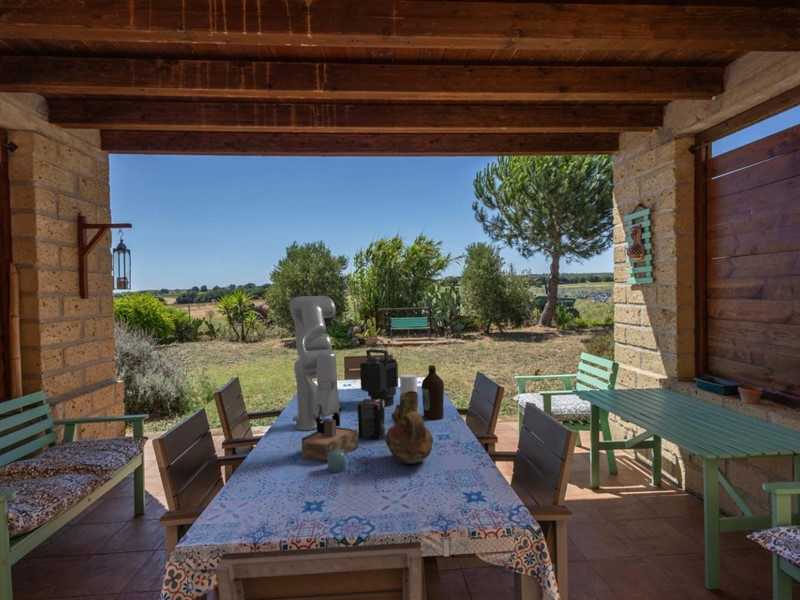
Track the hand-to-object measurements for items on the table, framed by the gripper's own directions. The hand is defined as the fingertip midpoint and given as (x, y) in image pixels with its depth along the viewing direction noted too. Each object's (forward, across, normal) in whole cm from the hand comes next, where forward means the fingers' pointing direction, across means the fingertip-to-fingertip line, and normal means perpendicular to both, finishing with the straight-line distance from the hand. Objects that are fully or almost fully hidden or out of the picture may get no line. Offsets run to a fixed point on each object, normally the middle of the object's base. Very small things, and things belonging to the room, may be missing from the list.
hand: (328, 429), depth 176 cm
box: (+9, -1, 0) cm, 9 cm away
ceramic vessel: (+10, -6, +31) cm, 33 cm away
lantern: (+9, -72, -19) cm, 75 cm away
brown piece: (+3, 0, 0) cm, 3 cm away
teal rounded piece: (+9, +12, +12) cm, 19 cm away
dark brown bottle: (+9, -60, +17) cm, 63 cm away
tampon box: (+9, -25, +4) cm, 27 cm away
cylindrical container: (+9, -33, +18) cm, 39 cm away
